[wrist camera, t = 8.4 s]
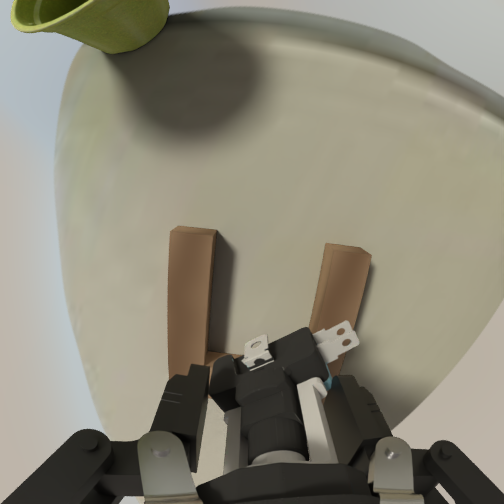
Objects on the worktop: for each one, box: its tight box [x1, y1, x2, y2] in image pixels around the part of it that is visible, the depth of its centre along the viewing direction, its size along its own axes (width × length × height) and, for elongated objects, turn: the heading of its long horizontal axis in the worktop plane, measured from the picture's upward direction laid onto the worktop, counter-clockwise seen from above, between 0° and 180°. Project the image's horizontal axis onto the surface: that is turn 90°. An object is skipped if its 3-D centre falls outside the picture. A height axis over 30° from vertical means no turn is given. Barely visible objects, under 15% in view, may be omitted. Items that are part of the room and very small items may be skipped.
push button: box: [196, 321, 380, 504], centre depth 8 cm, size 7×5×10 cm
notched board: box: [168, 226, 372, 404], centre depth 19 cm, size 12×12×2 cm
